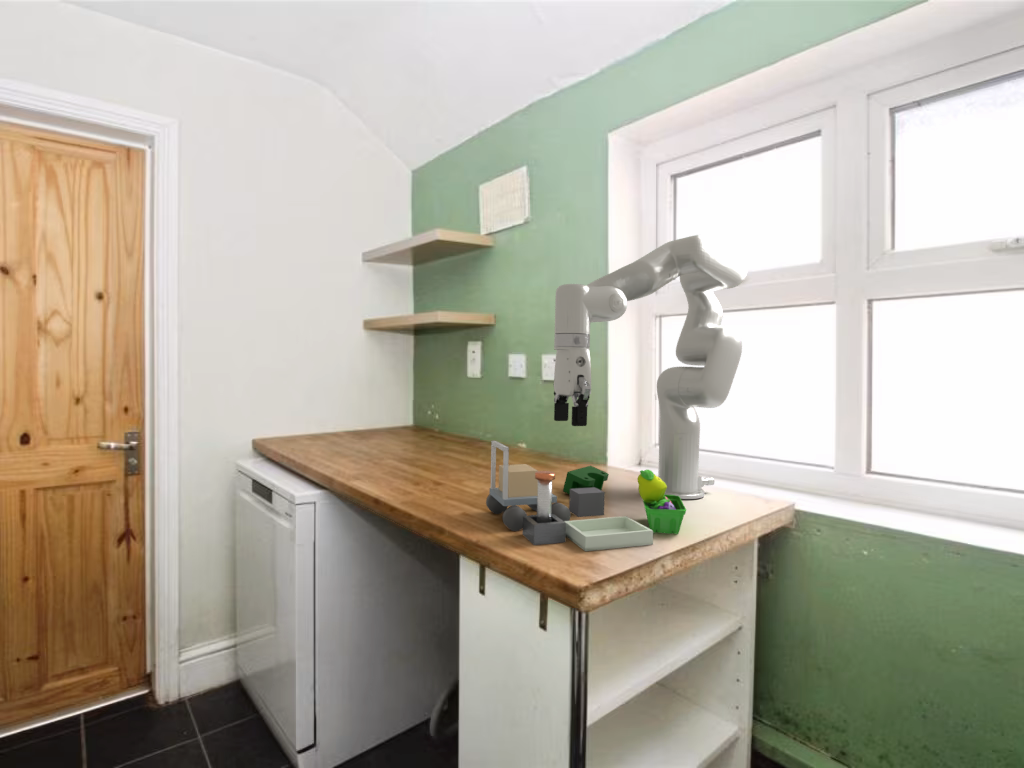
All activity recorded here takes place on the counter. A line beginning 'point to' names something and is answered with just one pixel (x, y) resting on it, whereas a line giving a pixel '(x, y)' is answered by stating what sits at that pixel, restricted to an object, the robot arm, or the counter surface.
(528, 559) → the counter surface
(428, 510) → the counter surface
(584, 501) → the grey rectangular block
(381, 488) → the counter surface
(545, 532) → the bracket
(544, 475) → the pin
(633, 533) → the tray
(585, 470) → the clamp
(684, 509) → the fruit basket
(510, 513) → the trolley
